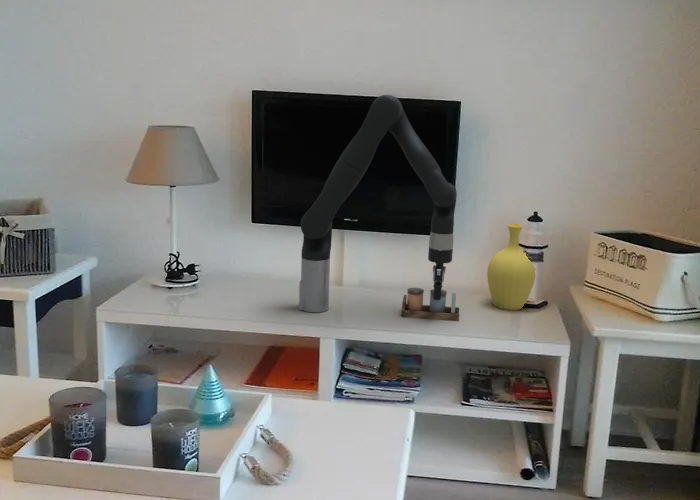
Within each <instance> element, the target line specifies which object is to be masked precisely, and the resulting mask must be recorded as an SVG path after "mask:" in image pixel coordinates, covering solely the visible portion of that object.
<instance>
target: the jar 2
mask: <svg viewBox="0 0 700 500" xmlns="http://www.w3.org/2000/svg"><path fill="white" fill-rule="evenodd" d="M429 294H430V295H429V305H430V307H429V312H437V313H445V306H446V303H447V294H448V293H447V291H446V290H444V289H441V299H440V300H434V288H432V289H431V290H430V291H429Z"/></svg>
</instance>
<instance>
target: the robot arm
mask: <svg viewBox="0 0 700 500" xmlns="http://www.w3.org/2000/svg"><path fill="white" fill-rule="evenodd" d="M402 104H403V103H401V100H399V98H398V97H397V96H394V95H391V94H383V95H380V96H378V97H377V98H375V99H374V101H373V102H372V104H371V106H370V108H369V110H368V112H367V114H366V117H365V119H364V120H363V122H362V125H361V126H360V128H359V129H358V131H357V133H356V134H355V136H354V137H353V138H352V139H351V140H350V142H349V143H348V145H347V146H346V147H345V148H344V150H343V152H342V153H341V154H340V156H339V158H338V160H337V161H336V163H335V164H334V167H333V168H332V170H331V172H330V173H329V175H328V177H327V180H326V181H325V183H324V186H323V188H322V190H321V192H320V194H319V195H318V197H317V198H316V199H315V201H314V202H313V204H312V205H311V207H310V208H309V209H308V210H307V211H306V212H305V214H304V215H303V216H302V218H301V220H300V229H301V233H302V234H303V241H302V247H301V255H300V256H301V261H300V262H301V265H300V267H301V272H300V273H301V274H300V281H299V286H298V287H299V290H298V292H299V296H298V298H299V299H298V301H299V302H298V310H299V311H304V312H307V313H323V312H327V311H328V310H329V306H330V302H329V301H330V267H331V249H332V236H333V234H332V233H333V219H334V218H335V216H336V215H337V212H338V210H339V209H340V207H341V206H342V204H343V203H344V202H345V201H346V200H347V198H348V197H349V196H350V195H351V194H352V192H354V190H355V189H356V187H357V186H358V185H359V183H360V181H361V180H362V178H363V177H364V175H365V174H366V172H367V171H368V169H369V166H370V165H371V163H372V161H373V158H374V156H375V153H376V151H377V148H378V146H379V144H380V142H381V141H382V139H383V138H384V137H385V135H386V134H387V133H388V131H389V132H390V133H391V135H392V136H393V137H394V138H395V140H396V141H397V143H398V144H399V147H400V148H401V150H402V152H403V154H404V155H405V157H406V159H407V161H408V163H409V164H410V166H411V167H412V170H413V171H414V172H415V173H416V175H417V176H418V178H419V179H420V181H421V182H422V183H423V185H424V187H425V189H426V191H427V193H428V195H429V197H430V198H431V199H432V201H433V214H432V217H431V224H430V234H429V241H428V253H427V255H428V256H427V259H428V261H429V262H431V263H435V265H433V267H432V282H433V289H434V300H440V299H441V289H442V288H443V283H444V282H445V275H446V270H447V269H446V268H447V267H446V266H445V264H449V263H452V262H453V253H454V252H453V251H454V230H455V229H454V226H455V212H456V211H455V210H456V203H457V196H458V195H457V188H456V187H455V185H454V184H453V183H450V182H448V181H447V179H446V177H445V176H444V175H443V173H442V170H441V168H440V166H439V164H438V162H437V161H436V159H435V158H434V156H433V155H432V154H431V152H430V151H429V150H428V148H427V147H426V145H425V144H424V142H423V141H422V139H421V138H420V137H419V136H418V134H417V133H416V131H415V130H414V128H413V126H412V124H411V123H410V121H409V118H408V116H407V114H406V112H405V109H404V108H403V105H402ZM442 290H443V289H442Z"/></svg>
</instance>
